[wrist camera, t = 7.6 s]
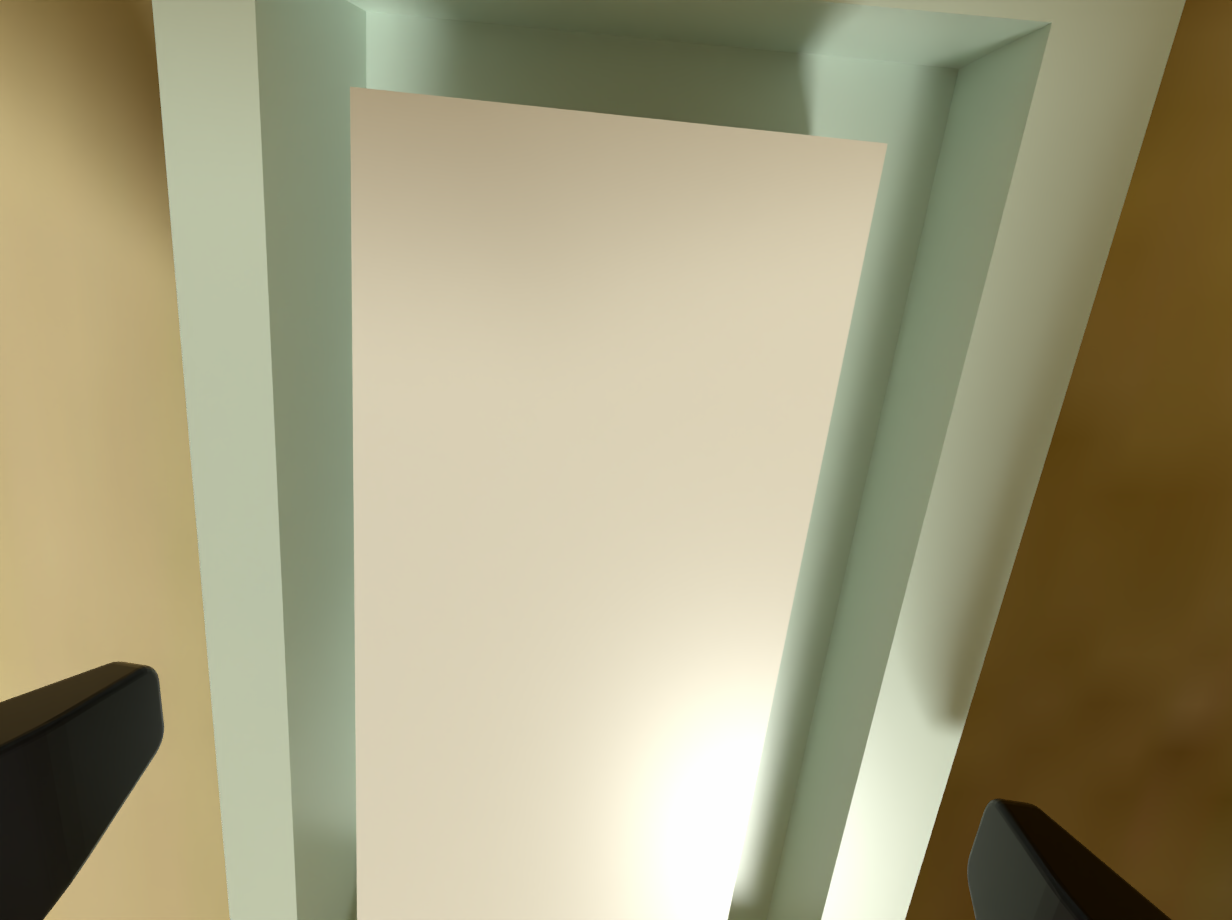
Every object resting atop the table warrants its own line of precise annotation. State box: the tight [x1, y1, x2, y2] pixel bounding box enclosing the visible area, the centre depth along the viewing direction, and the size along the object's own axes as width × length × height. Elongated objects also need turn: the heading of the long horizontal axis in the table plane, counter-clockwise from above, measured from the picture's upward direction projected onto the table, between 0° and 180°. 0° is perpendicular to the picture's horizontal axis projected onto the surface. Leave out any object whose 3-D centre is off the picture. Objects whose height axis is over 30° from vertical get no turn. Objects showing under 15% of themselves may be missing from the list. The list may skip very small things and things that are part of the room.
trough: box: [152, 0, 1186, 920], centre depth 11 cm, size 9×17×4 cm, turn 174°
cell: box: [350, 87, 888, 920], centre depth 10 cm, size 4×12×4 cm, turn 174°
